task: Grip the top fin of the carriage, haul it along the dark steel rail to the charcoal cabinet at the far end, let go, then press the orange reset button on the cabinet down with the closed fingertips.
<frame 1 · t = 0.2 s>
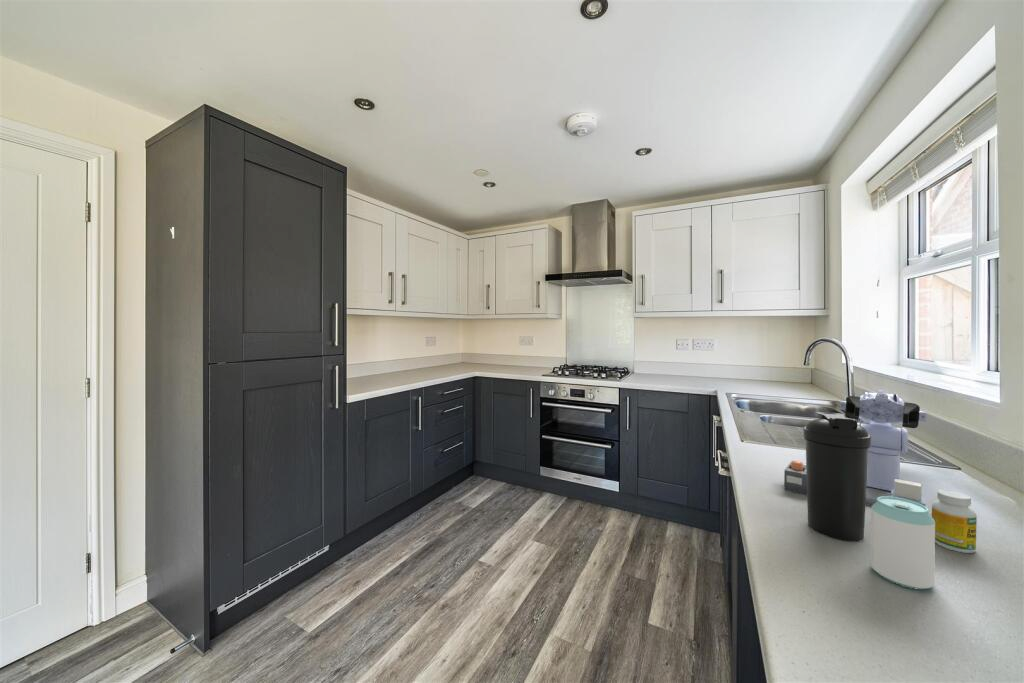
hand: (880, 414, 84), 21 cm above the countertop, tool horizontal, fingers open, 7 cm apart
carriage: (907, 496, 82), point 4 cm above the countertop, slide at 0.0 cm
can: (901, 579, 60), on the countertop
rail: (862, 502, 88), on the countertop
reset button: (797, 470, 96), point 4 cm above the countertop, slide at 0.0 cm
water bottle: (834, 531, 75), on the countertop
cabinet: (800, 488, 96), on the countertop
supplement bottle: (953, 546, 69), on the countertop
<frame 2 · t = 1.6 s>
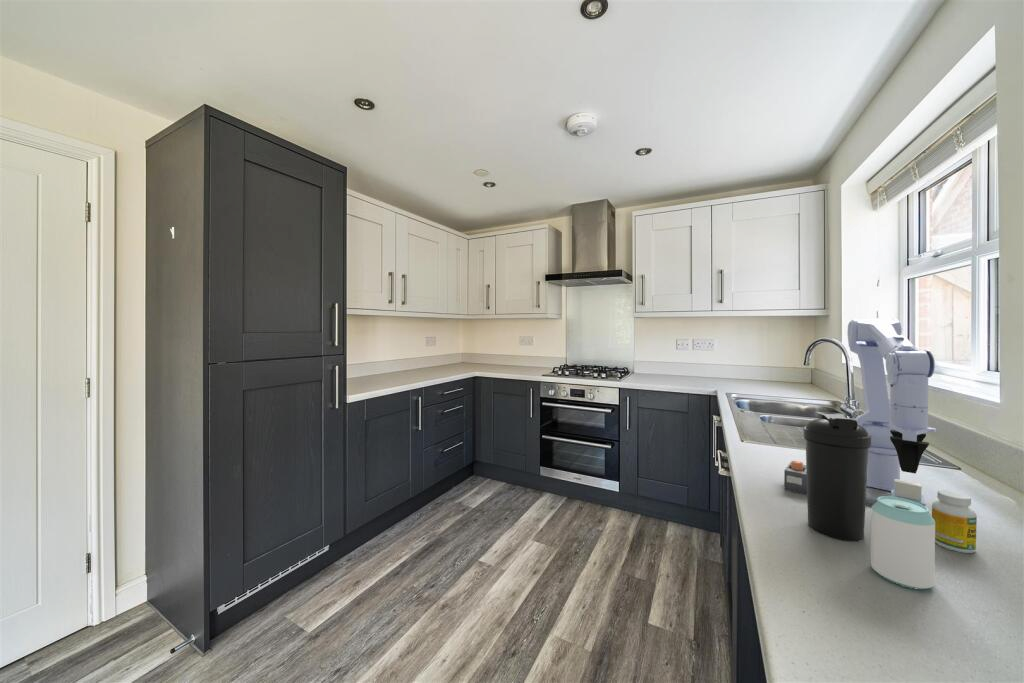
hand: (907, 467, 82), 10 cm above the countertop, tool pointing down, fingers open, 7 cm apart
nothing on the countertop moved.
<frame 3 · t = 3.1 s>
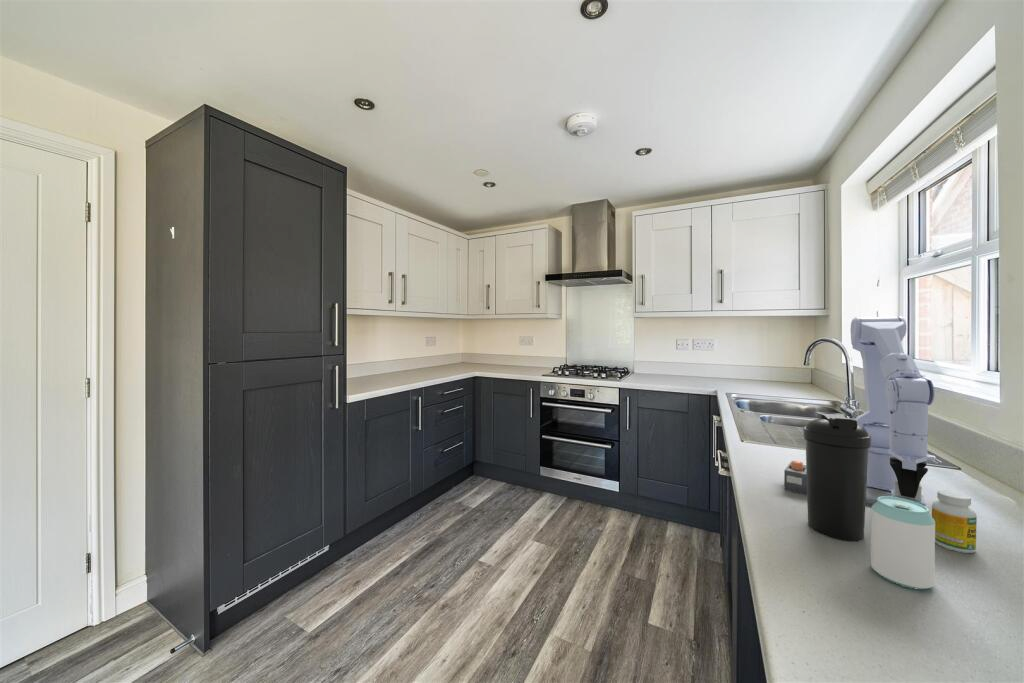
hand: (907, 494, 82), 4 cm above the countertop, tool pointing down, fingers closed on carriage, 2 cm apart
carriage: (907, 496, 82), point 3 cm above the countertop, slide at 0.0 cm, touching gripper
everything else where it was.
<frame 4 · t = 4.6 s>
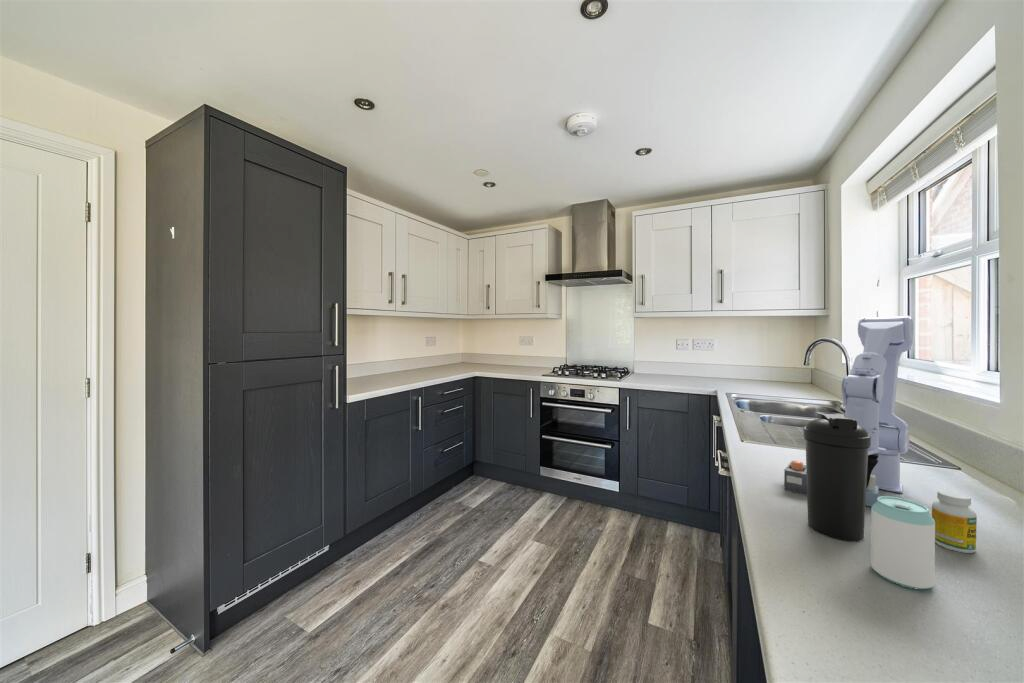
hand: (861, 484, 88), 4 cm above the countertop, tool pointing down, fingers closed on carriage, 2 cm apart
carriage: (863, 487, 87), point 4 cm above the countertop, slide at 7.1 cm, touching gripper
everything else where it was.
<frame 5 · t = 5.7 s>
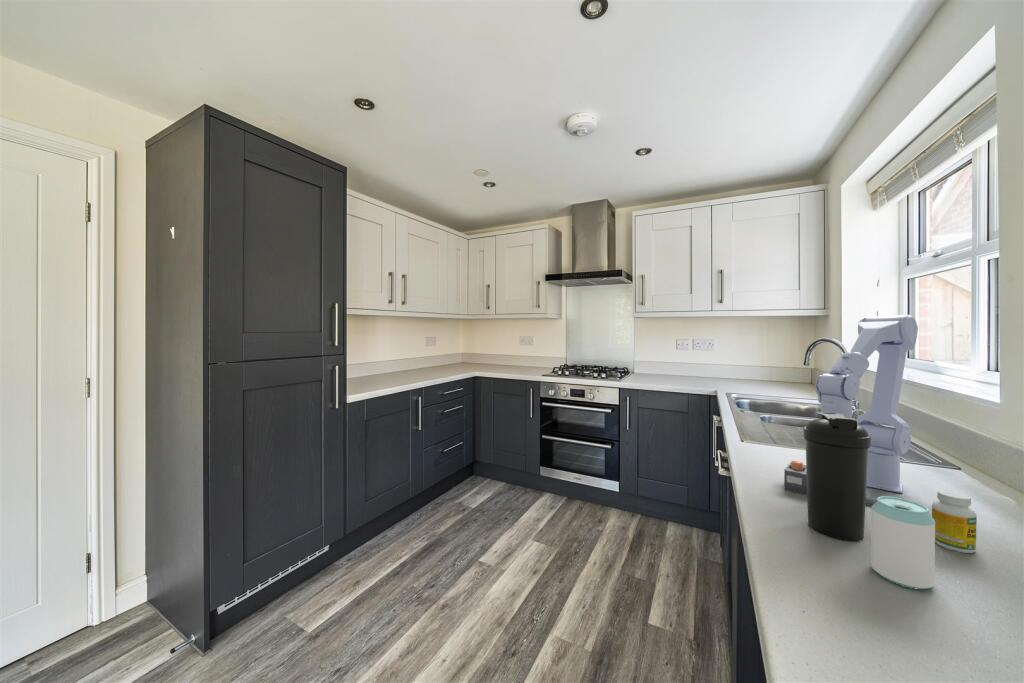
hand: (835, 479, 91), 4 cm above the countertop, tool pointing down, fingers closed on carriage, 2 cm apart
carriage: (838, 482, 91), point 4 cm above the countertop, slide at 11.5 cm, touching gripper
everything else where it was.
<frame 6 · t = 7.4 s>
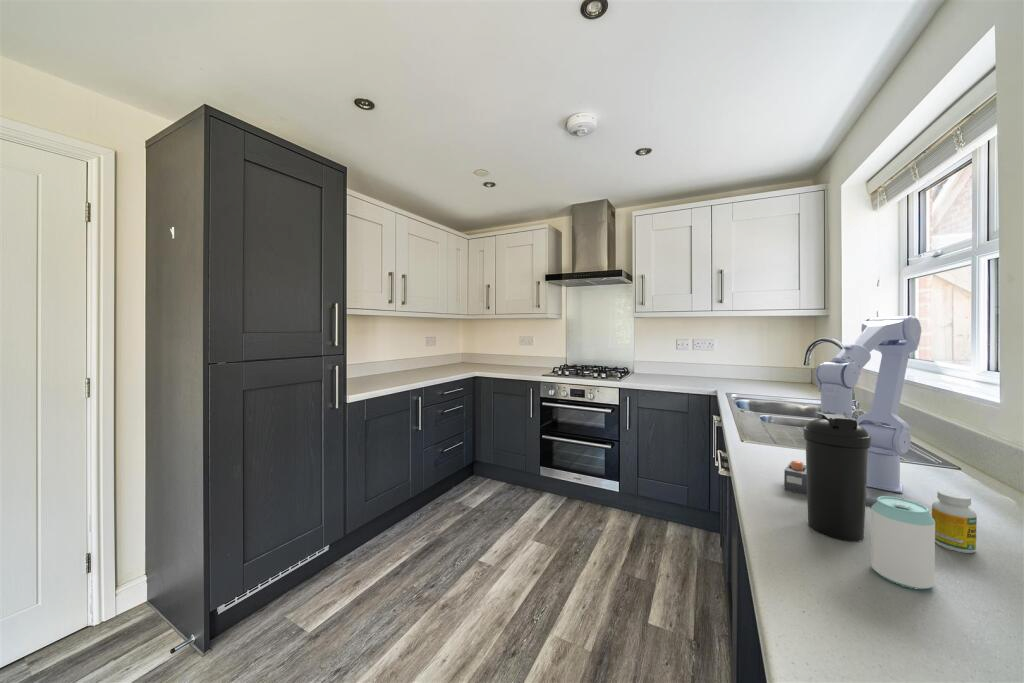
hand: (835, 468, 91), 7 cm above the countertop, tool pointing down, fingers open, 7 cm apart
carriage: (838, 482, 91), point 4 cm above the countertop, slide at 11.5 cm
everything else where it was.
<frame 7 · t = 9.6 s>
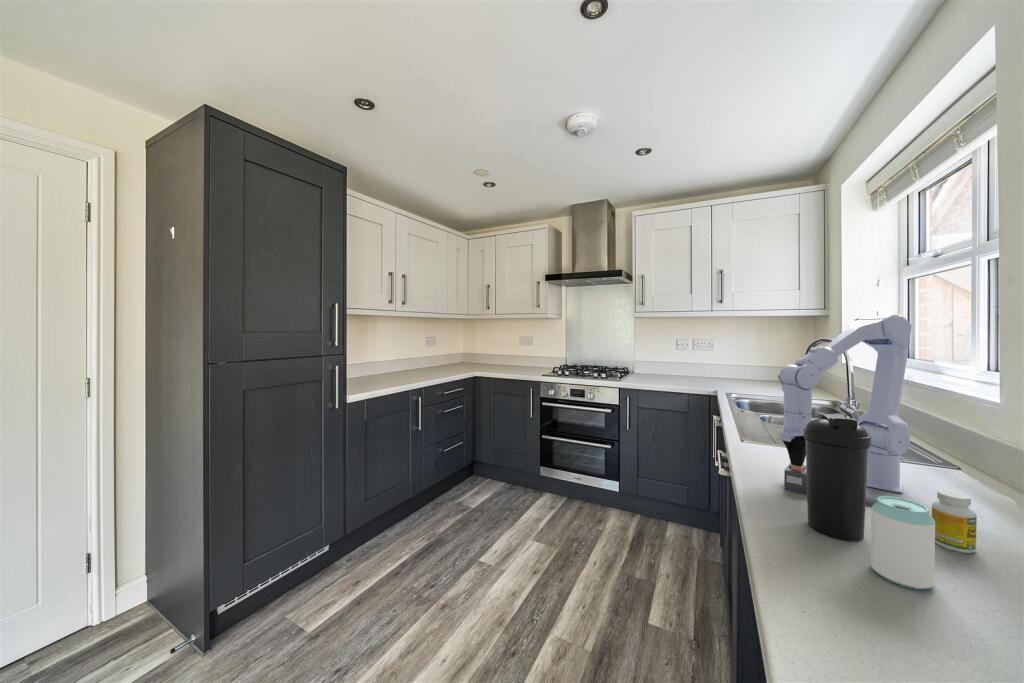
hand: (796, 465, 96), 6 cm above the countertop, tool pointing down, fingers closed, pressing on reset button
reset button: (797, 472, 96), point 4 cm above the countertop, slide at -0.7 cm, touching gripper
everything else where it was.
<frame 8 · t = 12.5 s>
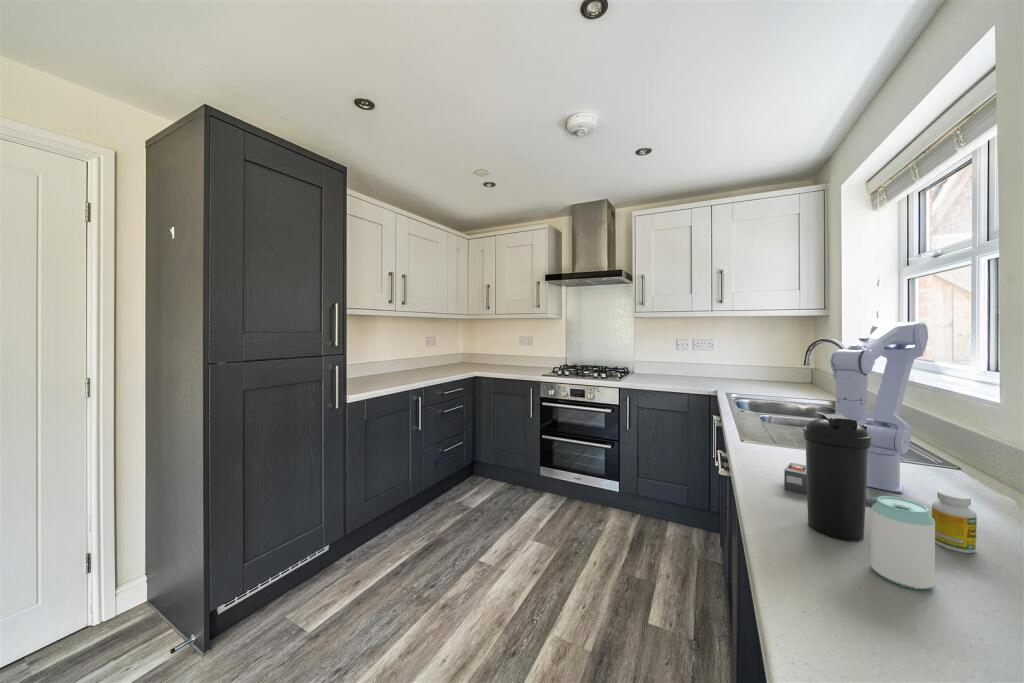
hand: (850, 455, 91), 10 cm above the countertop, tool pointing down, fingers closed
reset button: (796, 474, 96), point 3 cm above the countertop, slide at -1.2 cm
everything else where it was.
at the end: carriage slide at 11.5 cm; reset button slide at -1.2 cm; the gripper is holding nothing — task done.
